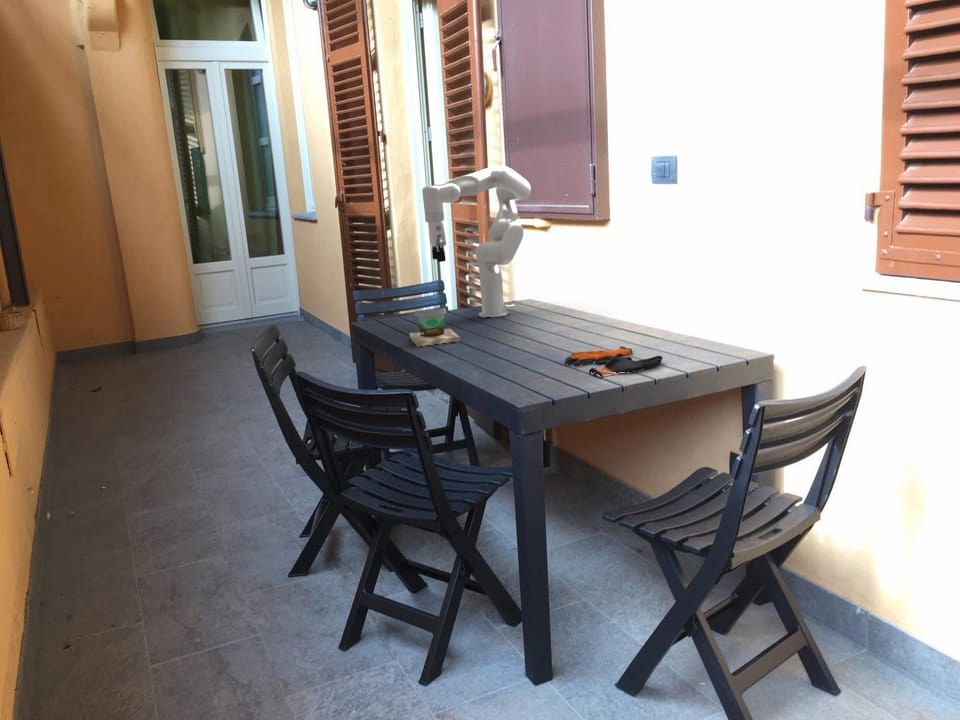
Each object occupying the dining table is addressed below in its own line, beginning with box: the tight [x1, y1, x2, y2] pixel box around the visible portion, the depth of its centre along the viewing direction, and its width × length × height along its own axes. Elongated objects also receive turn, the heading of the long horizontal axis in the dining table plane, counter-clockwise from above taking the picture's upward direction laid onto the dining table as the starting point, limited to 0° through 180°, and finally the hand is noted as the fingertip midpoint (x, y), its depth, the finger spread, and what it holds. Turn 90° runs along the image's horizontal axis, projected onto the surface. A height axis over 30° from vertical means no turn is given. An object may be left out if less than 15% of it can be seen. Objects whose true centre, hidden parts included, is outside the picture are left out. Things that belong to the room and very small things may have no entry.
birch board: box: [409, 327, 461, 348], centre depth 299 cm, size 16×18×2 cm
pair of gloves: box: [564, 345, 663, 376], centre depth 243 cm, size 27×24×3 cm
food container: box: [414, 306, 447, 337], centre depth 296 cm, size 12×6×10 cm, turn 110°
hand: (439, 260), depth 317 cm, fingers open, 9 cm apart
